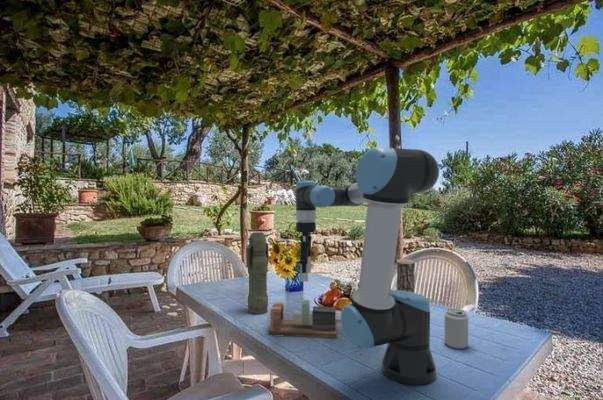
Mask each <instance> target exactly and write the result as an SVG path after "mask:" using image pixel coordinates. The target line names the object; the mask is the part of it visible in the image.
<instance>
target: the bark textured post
mask: <svg viewBox="0 0 603 400" xmlns="http://www.w3.org/2000/svg"><path fill="white" fill-rule="evenodd" d="M396 263H397V264H396V290H401V291H408V292H413V293H415V271H416V269H415V267H416V266H415V263H416V261H415V260H412V259H405V258H403V259H397V262H396Z"/></svg>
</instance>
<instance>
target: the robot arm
mask: <svg viewBox="0 0 603 400" xmlns="http://www.w3.org/2000/svg"><path fill="white" fill-rule="evenodd" d="M358 161H359V162H358V164H357V166H356V168H355V169H356V171H355V182H354V183H351V184H349V185H325V184H323V185H322V184H318V185H316V181H315V180H298V181H296V184H295V205H296V206H295V211H296V212H294V216H296V217H295V220H296V223H295V231H296V232H297V233H302V235H301V236H300V252H299V253H300V254H299V255H300V256H299V260H298V265H300V269H299V270H300V272H299V273H300V274H299V275H300V279H299V281H300V282H303V283H306V282H309V274H311V273H312V257H313V256H314V254H313V253H312V236H311V235H312V234H311V233H315V232H316V231H317V223H316V222H315V221H316V220H317V210H316V209H317V208H326V207H358V206H359V207H361V206H362V205H364V203H366V204H367V209H366V217H365V218H366V219H365V225H364V226H365V228H364V237H363V245H362V253H361V263H360V270H359V271H360V272H359V279H358V280H359V281H358V289H355V290H354V291H353V292H352V294H351V302H350V304H347V303H346V305H344V306H343V307H342V309H341V313H340V320H341V326H342V329H343V332H344V335H345V337H346V338H347V340H348V341H349V343H350V344H351V345H352V346H353V347H355V348H357V349H360V350H362V349H373V348H374V347H378V346H383V345H386V348H385V352H384V354H383V357H382V362H381V366H382V367H381V369H382V372H383V373H384V375H386V377H387V378H389V379H391V380H393V381H395V382H397V383H400V384H405V385H411V386H414V385H415V386H422V385H427V384H431V383H432V382H434V381H435V379H437V378H436V377H437V367H436V364H435V361H434V357H433V354H432V351H431V348H430V346H431V345H430V343H431V342H430V340H431V339H430V337H431V336H430V335H431V333H430V332H431V309H430V307H431V306H430V301H429V299H428V298H427V296H424V295H422V294H420V293H417V292H414V293H413V292H408V291H401V290H397V289H394V290H393V289H392V285H393V277H394V270H395V261H396V254H397V246H398V237H399V230H400V223H401V215H402V210H403V208H404V207H406V206H407V205H408V204H409V203H410V197H411V195H412V194H420V193H425V192H427V191H429V190H431V189H432V188H433V187H434V186H436V185H435V184H436V183H437V182H438V179H439V176H440V167H439V163H438V162H437V159H435V157H434V156H433V155H432V154H431V153H429V152H428V151H425V150H422V149H418V148H417V149H414V148H413V149H410V148H401V147H391V146H379V147H376V146H375V147H373V148H372V147H371V148H370V149H368V150H367V151H365V153H364V154H363V155H362V156H360V159H359V160H358Z"/></svg>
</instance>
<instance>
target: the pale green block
mask: <svg viewBox="0 0 603 400" xmlns="http://www.w3.org/2000/svg"><path fill="white" fill-rule="evenodd" d="M310 309H311V308H310V300H306V299H305V300H302V303H301V310H293V313H292V321H299V322H302V325H309V322H312V311H313V310H311V311H310Z"/></svg>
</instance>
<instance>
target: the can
mask: <svg viewBox="0 0 603 400" xmlns="http://www.w3.org/2000/svg"><path fill="white" fill-rule="evenodd" d="M444 343H445V344H446V345H447V346H448V347H449V348H451V349H454V350H455V349H456V350H464V349H465V348H467V347H468V346H469V316H468V315H467V312H466V311H465V310H464V309H459V308H448V309H446V312H445V313H444Z"/></svg>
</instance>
